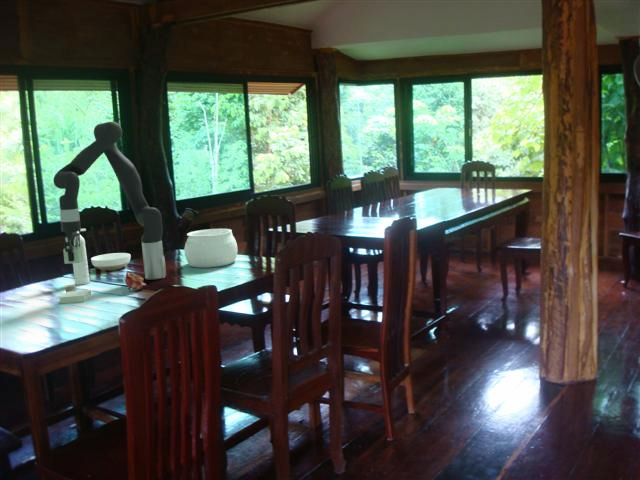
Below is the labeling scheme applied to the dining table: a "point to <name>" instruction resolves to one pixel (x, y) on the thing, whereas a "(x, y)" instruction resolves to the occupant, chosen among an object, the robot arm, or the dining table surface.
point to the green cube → (77, 255)
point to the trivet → (75, 296)
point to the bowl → (111, 261)
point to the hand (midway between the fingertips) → (74, 259)
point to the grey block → (70, 288)
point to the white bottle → (81, 266)
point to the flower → (133, 281)
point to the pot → (210, 248)
